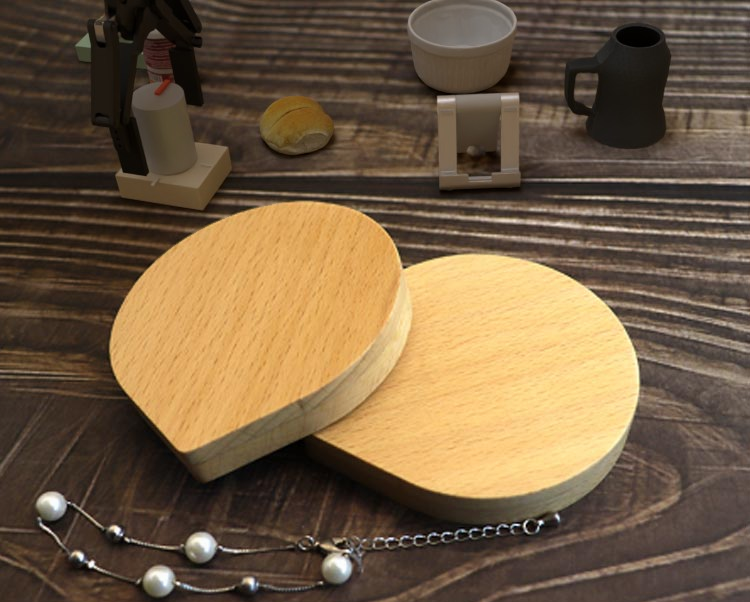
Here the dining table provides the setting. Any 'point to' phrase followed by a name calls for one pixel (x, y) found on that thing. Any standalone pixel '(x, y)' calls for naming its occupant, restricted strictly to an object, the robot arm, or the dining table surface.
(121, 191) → the beige square base
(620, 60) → the mug
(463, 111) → the tablet stand
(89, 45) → the button box
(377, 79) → the dining table surface
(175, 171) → the dial
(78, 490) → the dining table surface
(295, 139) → the bread roll
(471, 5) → the ramekin
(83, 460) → the dining table surface
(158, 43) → the pill bottle
